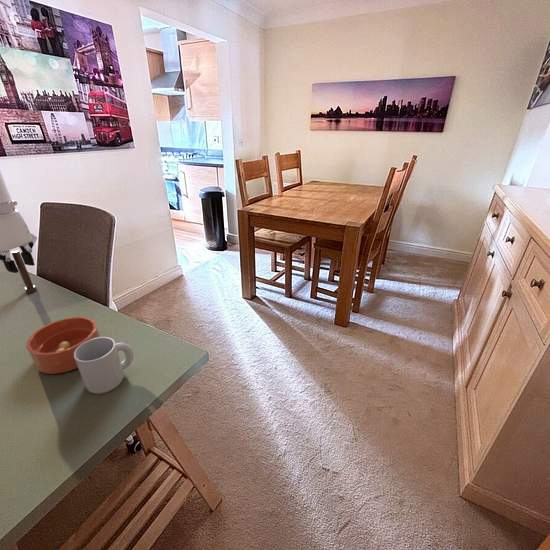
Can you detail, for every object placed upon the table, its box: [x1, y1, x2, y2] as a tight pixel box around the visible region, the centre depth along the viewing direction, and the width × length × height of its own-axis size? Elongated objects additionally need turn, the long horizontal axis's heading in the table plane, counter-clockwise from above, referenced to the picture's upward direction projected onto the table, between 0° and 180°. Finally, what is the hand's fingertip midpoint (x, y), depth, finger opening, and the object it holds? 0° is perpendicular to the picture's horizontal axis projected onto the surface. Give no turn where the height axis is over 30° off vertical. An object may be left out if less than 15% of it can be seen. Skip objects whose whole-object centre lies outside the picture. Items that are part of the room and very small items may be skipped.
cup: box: [74, 336, 134, 395], centre depth 62 cm, size 7×10×9 cm
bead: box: [59, 341, 70, 349], centre depth 70 cm, size 2×2×2 cm
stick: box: [10, 250, 38, 294], centre depth 92 cm, size 3×3×14 cm
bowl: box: [25, 316, 101, 375], centre depth 69 cm, size 13×13×6 cm
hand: (21, 267), depth 91 cm, fingers open, 4 cm apart
